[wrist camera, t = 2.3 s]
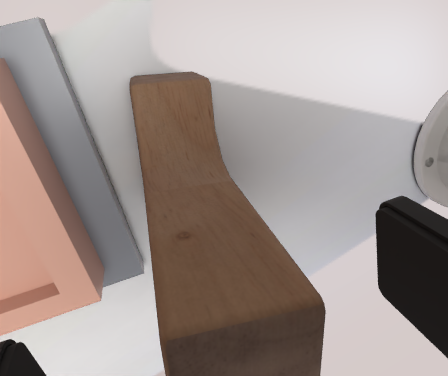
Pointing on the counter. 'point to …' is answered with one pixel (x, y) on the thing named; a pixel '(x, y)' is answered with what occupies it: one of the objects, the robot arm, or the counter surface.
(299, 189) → the counter surface
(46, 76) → the baseplate
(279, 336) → the wooden block
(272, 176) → the counter surface
